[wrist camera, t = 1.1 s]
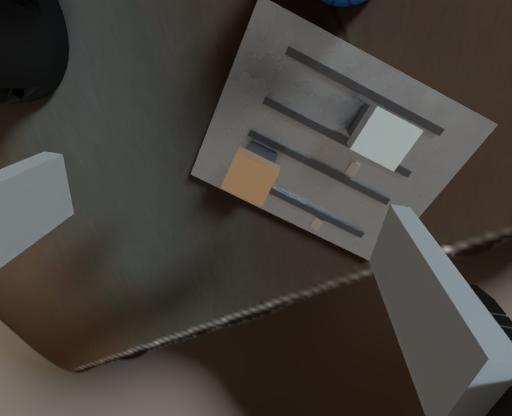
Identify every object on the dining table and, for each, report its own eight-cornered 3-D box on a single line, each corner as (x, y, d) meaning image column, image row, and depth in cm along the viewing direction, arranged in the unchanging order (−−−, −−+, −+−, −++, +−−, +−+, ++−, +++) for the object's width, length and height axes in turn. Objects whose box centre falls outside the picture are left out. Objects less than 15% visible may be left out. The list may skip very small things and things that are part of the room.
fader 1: (233, 166, 32) (220, 187, 27) (247, 136, 30) (236, 152, 25) (267, 183, 32) (261, 207, 27) (282, 154, 31) (279, 173, 25)
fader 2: (340, 132, 29) (349, 149, 24) (362, 97, 28) (377, 106, 22) (376, 151, 29) (393, 171, 24) (400, 117, 28) (423, 130, 22)
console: (196, 168, 35) (188, 176, 33) (262, -1, 27) (258, -7, 25) (374, 255, 37) (379, 268, 35) (485, 120, 29) (501, 125, 27)
